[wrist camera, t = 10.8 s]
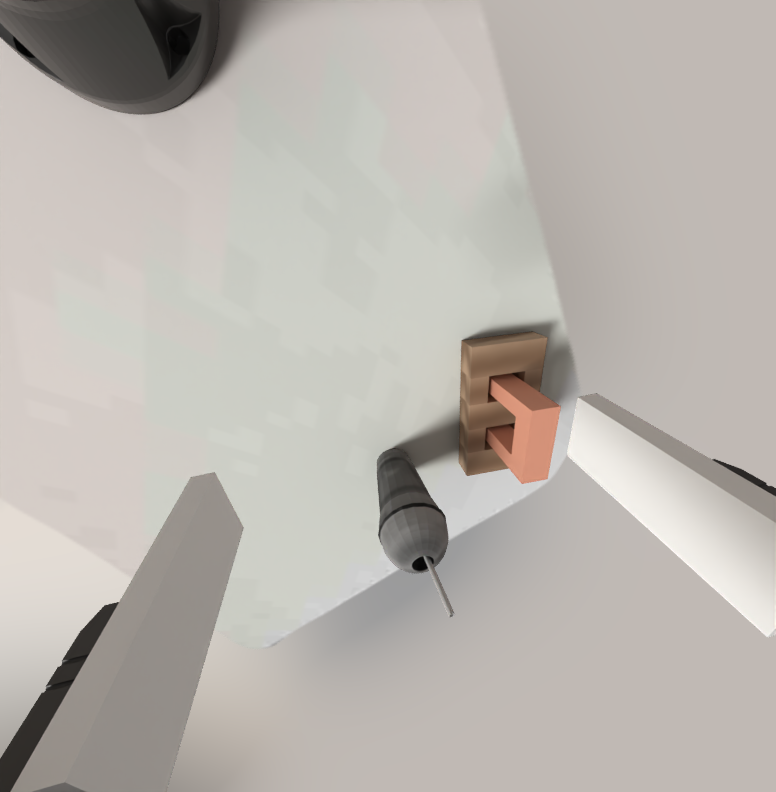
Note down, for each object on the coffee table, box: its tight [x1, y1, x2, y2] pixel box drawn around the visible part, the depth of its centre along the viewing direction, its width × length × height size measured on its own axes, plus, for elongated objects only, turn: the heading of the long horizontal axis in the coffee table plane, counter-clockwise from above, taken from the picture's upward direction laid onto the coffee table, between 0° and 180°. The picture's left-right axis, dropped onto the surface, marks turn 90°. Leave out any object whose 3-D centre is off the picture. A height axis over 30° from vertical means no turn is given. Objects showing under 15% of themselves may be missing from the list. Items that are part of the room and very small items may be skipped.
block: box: [485, 373, 561, 484], centre depth 36 cm, size 9×3×10 cm, turn 5°
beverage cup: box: [377, 449, 454, 617], centre depth 33 cm, size 7×7×20 cm
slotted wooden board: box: [459, 332, 548, 476], centre depth 40 cm, size 18×9×3 cm, turn 5°
